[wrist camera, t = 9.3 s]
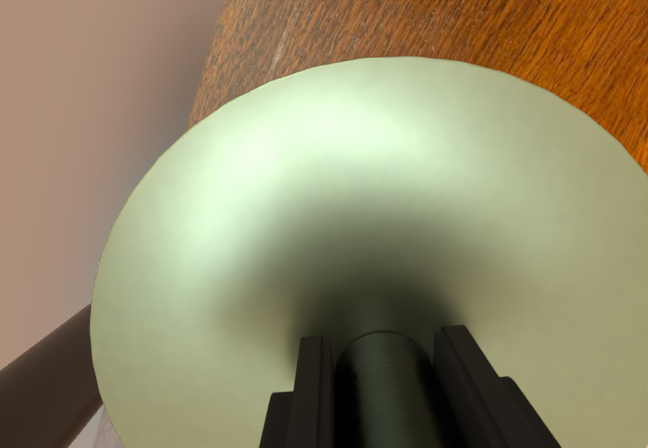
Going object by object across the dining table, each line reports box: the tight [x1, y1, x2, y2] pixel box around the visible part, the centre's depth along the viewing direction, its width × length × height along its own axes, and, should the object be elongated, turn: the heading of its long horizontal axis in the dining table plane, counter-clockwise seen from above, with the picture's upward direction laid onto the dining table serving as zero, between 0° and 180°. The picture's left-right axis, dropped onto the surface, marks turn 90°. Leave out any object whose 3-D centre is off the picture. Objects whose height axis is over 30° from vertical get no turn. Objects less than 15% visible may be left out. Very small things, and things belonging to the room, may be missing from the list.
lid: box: [90, 56, 648, 448], centre depth 8 cm, size 16×16×6 cm
